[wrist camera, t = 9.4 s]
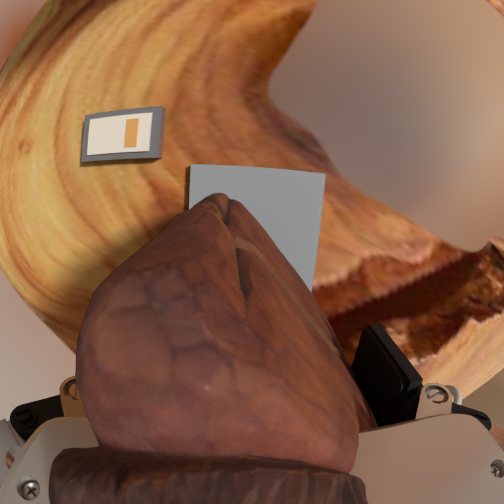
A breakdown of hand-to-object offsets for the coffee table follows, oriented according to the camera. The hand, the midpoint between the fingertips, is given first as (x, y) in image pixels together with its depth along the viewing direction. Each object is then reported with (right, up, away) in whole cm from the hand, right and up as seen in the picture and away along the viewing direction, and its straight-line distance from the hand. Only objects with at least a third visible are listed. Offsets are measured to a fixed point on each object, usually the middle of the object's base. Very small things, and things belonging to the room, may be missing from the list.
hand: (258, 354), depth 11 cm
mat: (0, +3, +11) cm, 12 cm away
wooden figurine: (0, +2, +7) cm, 8 cm away
